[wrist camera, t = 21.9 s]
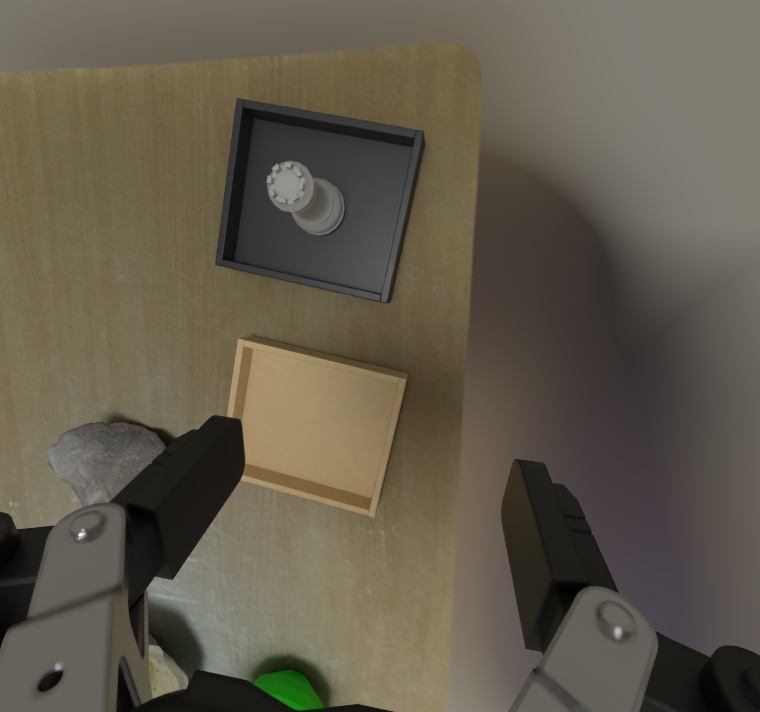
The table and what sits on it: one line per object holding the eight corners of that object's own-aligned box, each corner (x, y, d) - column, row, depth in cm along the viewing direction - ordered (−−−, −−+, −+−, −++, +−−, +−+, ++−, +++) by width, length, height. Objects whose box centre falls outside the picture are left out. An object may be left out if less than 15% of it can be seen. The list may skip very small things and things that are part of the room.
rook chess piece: (306, 173, 32) (266, 134, 25) (353, 194, 32) (328, 161, 24) (288, 224, 33) (243, 202, 25) (334, 244, 33) (303, 229, 25)
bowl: (207, 716, 44) (142, 836, 34) (98, 692, 46) (6, 801, 36) (205, 602, 42) (134, 698, 32) (89, 582, 43) (-11, 667, 33)
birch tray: (408, 373, 34) (406, 379, 32) (378, 503, 37) (374, 518, 34) (251, 335, 36) (237, 338, 33) (231, 462, 38) (218, 474, 36)
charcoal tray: (424, 143, 31) (424, 130, 29) (390, 302, 34) (386, 303, 31) (251, 112, 33) (236, 97, 30) (229, 266, 35) (214, 264, 33)
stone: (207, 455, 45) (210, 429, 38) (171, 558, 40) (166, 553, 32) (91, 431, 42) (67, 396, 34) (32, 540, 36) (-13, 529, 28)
